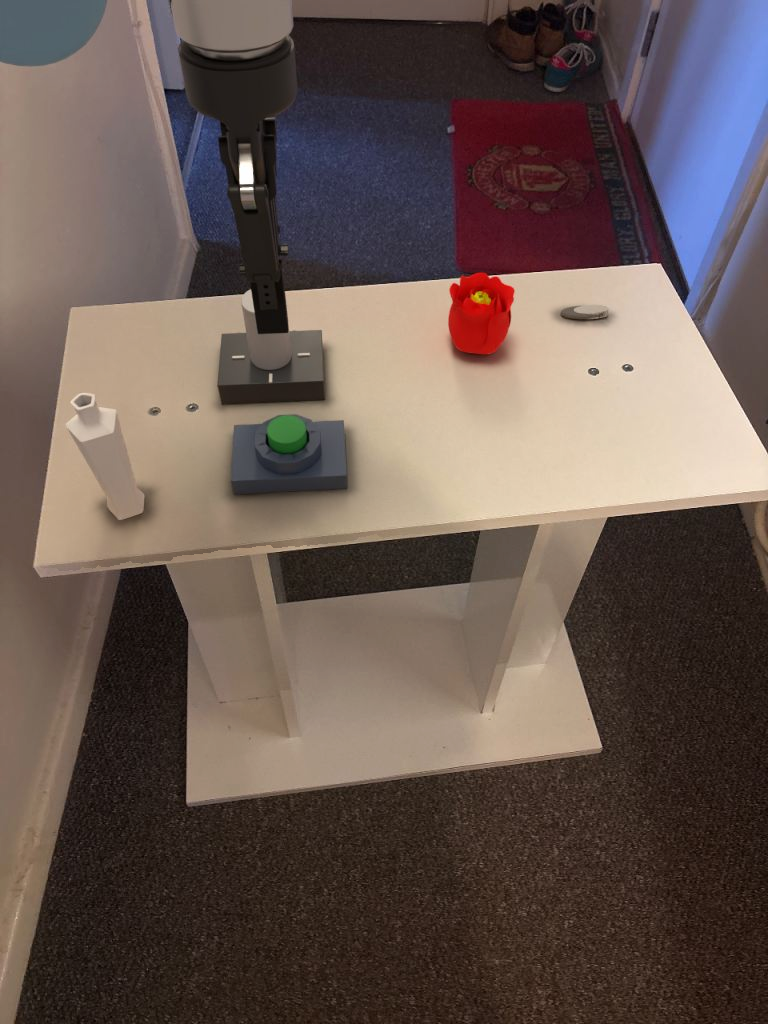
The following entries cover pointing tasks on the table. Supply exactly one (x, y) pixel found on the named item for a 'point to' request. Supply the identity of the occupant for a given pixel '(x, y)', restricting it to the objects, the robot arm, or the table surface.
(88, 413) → the perfume bottle
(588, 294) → the table surface
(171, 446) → the table surface
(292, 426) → the button
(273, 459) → the button block
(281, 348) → the dial
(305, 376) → the dial panel
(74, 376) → the table surface
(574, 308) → the oval pebble
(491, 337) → the flower
